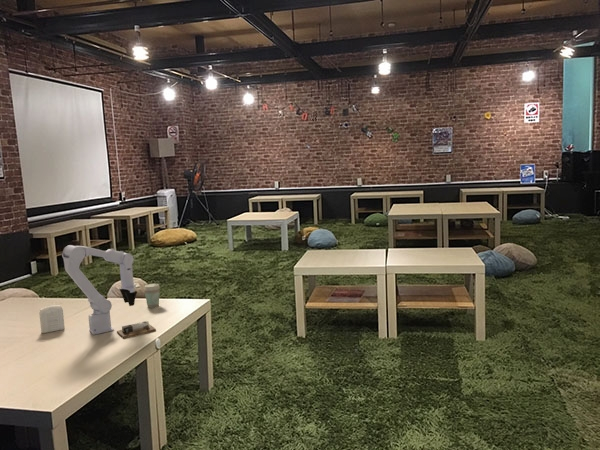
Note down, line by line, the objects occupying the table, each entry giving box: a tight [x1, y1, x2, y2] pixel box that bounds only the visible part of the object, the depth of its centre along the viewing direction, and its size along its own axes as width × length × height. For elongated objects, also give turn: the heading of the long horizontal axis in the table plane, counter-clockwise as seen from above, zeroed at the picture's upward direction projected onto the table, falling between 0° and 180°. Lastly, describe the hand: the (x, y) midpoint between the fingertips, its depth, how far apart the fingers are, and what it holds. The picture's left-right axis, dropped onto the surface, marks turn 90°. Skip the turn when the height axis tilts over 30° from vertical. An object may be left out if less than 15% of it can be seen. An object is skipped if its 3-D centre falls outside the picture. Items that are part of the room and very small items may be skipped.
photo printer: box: [38, 304, 66, 334], centre depth 244 cm, size 10×4×12 cm, turn 123°
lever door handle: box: [121, 320, 150, 334], centre depth 237 cm, size 12×3×3 cm, turn 125°
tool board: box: [116, 323, 157, 339], centre depth 237 cm, size 15×10×3 cm, turn 125°
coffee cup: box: [143, 283, 161, 309], centre depth 277 cm, size 8×8×12 cm
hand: (129, 303), depth 251 cm, fingers open, 7 cm apart
